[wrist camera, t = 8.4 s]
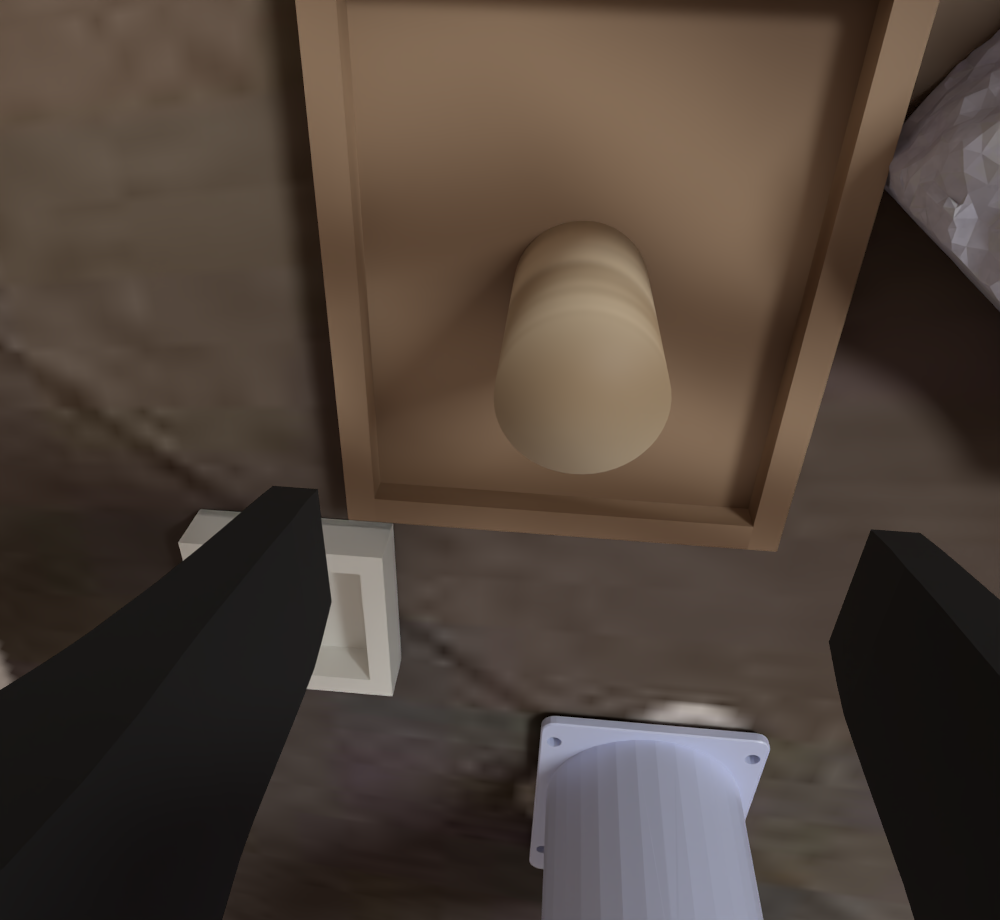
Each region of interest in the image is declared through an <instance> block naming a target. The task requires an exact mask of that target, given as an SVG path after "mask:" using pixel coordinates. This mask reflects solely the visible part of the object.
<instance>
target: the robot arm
mask: <svg viewBox="0 0 1000 920" xmlns="http://www.w3.org/2000/svg"><path fill="white" fill-rule="evenodd" d="M331 603H332V599H331V592H330V584H329V576H328V568H327V560H326V552H325V544H324V536H323V528H322V520H321V512H320V505H319V497H318V489H307V488H293V487H279V486H272V487H271V488H270V489H269V490H267V491H266V492H265V493H264V494H262V495H261V496H260V497H259V498H257V499H256V500H255V501H254V502H253V503H252V504H250V505H249V506H248V507H247V508H246V509H244V510H243V511H242V512H241V513H240V514H238V515H237V516H236V517H235V518H234V519H233V520H231V521H230V522H229V523H228V524H227V525H225V526H224V527H223V528H222V529H221V530H220V531H218V532H217V533H216V534H215V535H214V536H212V537H211V538H210V539H209V540H208V541H206V542H205V543H204V544H203V545H202V546H201V547H199V548H198V549H197V550H196V551H195V552H193V553H192V554H191V555H190V556H188V557H187V558H186V559H185V560H183V561H182V562H181V563H180V564H178V565H177V566H176V567H175V568H174V569H172V570H171V571H170V572H169V573H167V574H166V575H165V576H164V577H162V578H161V579H160V580H159V581H158V582H156V583H155V584H154V585H152V586H151V587H150V588H148V589H147V590H146V591H144V592H143V593H141V594H140V595H139V596H137V597H136V598H135V599H133V600H132V601H131V602H129V603H128V604H127V605H125V606H124V607H123V608H121V609H120V610H119V611H117V612H116V613H115V614H113V615H112V616H111V617H109V618H108V619H107V620H105V621H104V622H102V623H101V624H100V625H98V626H97V627H96V628H94V629H93V630H92V631H90V632H89V633H87V634H86V635H85V636H83V637H82V638H80V639H79V640H77V641H76V642H74V643H73V644H72V645H70V646H69V647H67V648H66V649H64V650H63V651H61V652H60V653H58V654H57V655H55V656H53V657H52V658H50V659H49V660H47V661H46V662H44V663H43V664H41V665H39V666H38V667H36V668H35V669H33V670H32V671H30V672H28V673H27V674H25V675H24V676H22V677H20V678H19V679H17V680H16V681H14V682H12V683H11V684H9V685H8V686H6V687H4V688H3V689H1V690H0V920H222V918H223V914H224V911H225V908H226V904H227V901H228V897H229V894H230V891H231V887H232V884H233V881H234V877H235V874H236V870H237V867H238V864H239V860H240V857H241V854H242V852H243V849H244V846H245V843H246V840H247V838H248V835H249V832H250V829H251V826H252V824H253V821H254V818H255V816H256V814H257V811H258V809H259V806H260V804H261V801H262V799H263V796H264V794H265V791H266V789H267V786H268V784H269V781H270V779H271V776H272V774H273V771H274V769H275V767H276V764H277V762H278V759H279V757H280V754H281V752H282V749H283V747H284V744H285V742H286V739H287V737H288V734H289V732H290V729H291V727H292V725H293V722H294V720H295V717H296V714H297V712H298V709H299V707H300V704H301V702H302V699H303V697H304V694H305V692H306V689H307V687H308V684H309V682H310V679H311V676H312V674H313V671H314V668H315V665H316V661H317V657H318V654H319V650H320V646H321V643H322V639H323V635H324V631H325V627H326V623H327V619H328V615H329V611H330V607H331ZM829 645H830V650H831V655H832V661H833V666H834V671H835V676H836V682H837V686H838V691H839V695H840V699H841V704H842V708H843V713H844V716H845V719H846V722H847V725H848V728H849V731H850V734H851V737H852V740H853V743H854V746H855V749H856V752H857V754H858V757H859V760H860V763H861V766H862V769H863V772H864V775H865V777H866V780H867V783H868V786H869V789H870V791H871V794H872V797H873V800H874V803H875V805H876V808H877V811H878V814H879V817H880V819H881V822H882V825H883V828H884V831H885V833H886V836H887V839H888V842H889V845H890V847H891V850H892V853H893V856H894V859H895V862H896V864H897V867H898V870H899V873H900V876H901V878H902V881H903V884H904V887H905V890H906V894H907V897H908V900H909V903H910V906H911V910H912V913H913V916H914V919H915V920H1000V600H999V599H998V598H997V597H996V596H995V595H994V594H992V593H991V592H990V591H989V590H988V589H987V588H986V587H984V586H983V585H982V584H981V583H980V582H979V581H977V580H976V579H975V578H974V577H973V576H972V575H971V574H969V573H968V572H967V571H966V570H965V569H964V568H962V567H961V566H960V565H959V564H958V563H957V562H955V561H954V560H953V559H952V558H951V557H949V556H948V555H947V554H946V553H945V552H943V551H942V550H941V549H940V548H939V547H937V546H936V545H935V544H934V543H932V542H931V541H930V540H928V539H927V538H926V537H925V536H923V535H922V534H921V533H912V532H898V531H885V530H871V531H870V534H869V536H868V539H867V542H866V544H865V547H864V550H863V552H862V555H861V558H860V560H859V563H858V566H857V568H856V571H855V574H854V576H853V579H852V582H851V584H850V587H849V590H848V592H847V595H846V598H845V600H844V603H843V606H842V608H841V611H840V614H839V616H838V619H837V622H836V624H835V627H834V630H833V632H832V635H831V638H830V640H829ZM769 752H770V746H769V742H768V739H767V738H766V737H765V736H764V735H762V734H758V733H750V732H738V731H727V730H715V729H704V728H692V727H681V726H669V725H658V724H646V723H634V722H623V721H611V720H600V719H588V718H577V717H565V716H550V717H547V718H545V719H544V720H543V721H542V723H541V733H540V744H539V756H538V767H537V778H536V789H535V800H534V811H533V823H532V834H531V845H530V858H529V861H530V864H531V865H532V866H534V867H536V868H540V869H543V894H542V920H763V915H762V910H761V905H760V899H759V894H758V889H757V883H756V878H755V872H754V867H753V862H752V856H751V851H750V846H749V840H748V835H747V829H746V824H745V819H746V816H747V813H748V811H749V808H750V805H751V802H752V799H753V797H754V794H755V791H756V788H757V785H758V782H759V780H760V777H761V774H762V771H763V768H764V766H765V763H766V760H767V757H768V754H769Z"/></svg>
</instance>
